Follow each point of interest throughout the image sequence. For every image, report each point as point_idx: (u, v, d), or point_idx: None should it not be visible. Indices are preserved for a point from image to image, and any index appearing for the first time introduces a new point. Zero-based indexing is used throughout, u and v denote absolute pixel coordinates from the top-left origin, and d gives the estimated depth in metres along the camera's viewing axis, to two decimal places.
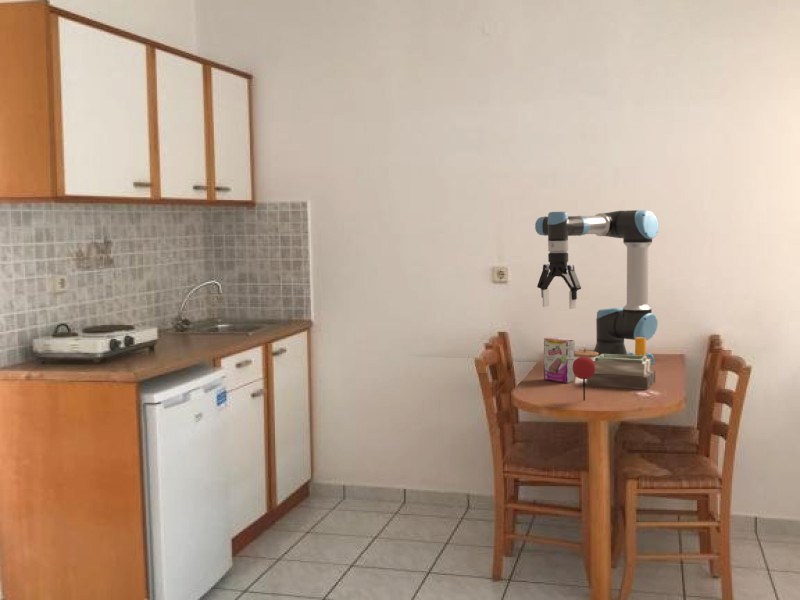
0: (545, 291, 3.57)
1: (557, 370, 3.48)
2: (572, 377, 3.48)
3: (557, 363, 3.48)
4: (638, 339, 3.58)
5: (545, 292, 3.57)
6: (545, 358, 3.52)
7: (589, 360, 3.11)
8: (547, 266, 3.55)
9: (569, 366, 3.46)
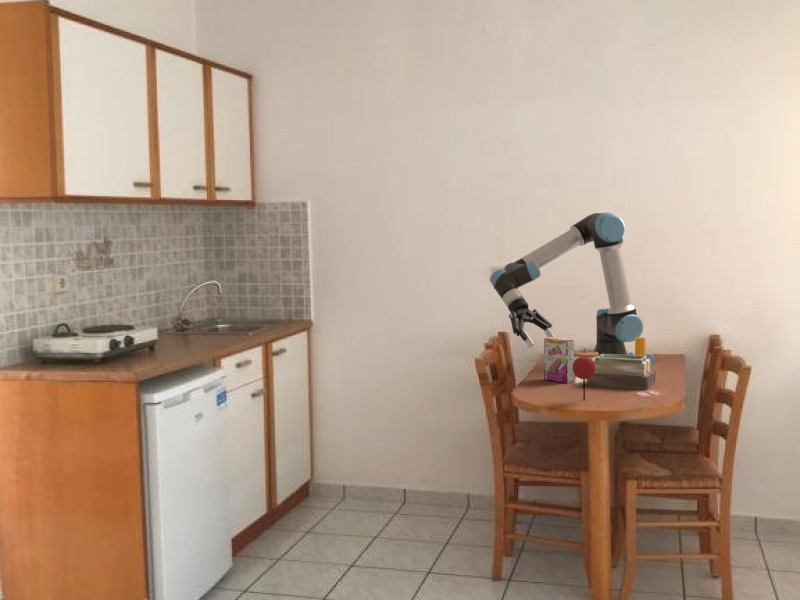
0: (546, 331, 3.62)
1: (557, 370, 3.48)
2: (572, 377, 3.48)
3: (557, 363, 3.48)
4: (638, 339, 3.58)
5: (546, 332, 3.62)
6: (545, 358, 3.52)
7: (589, 360, 3.11)
8: None
9: (569, 366, 3.46)
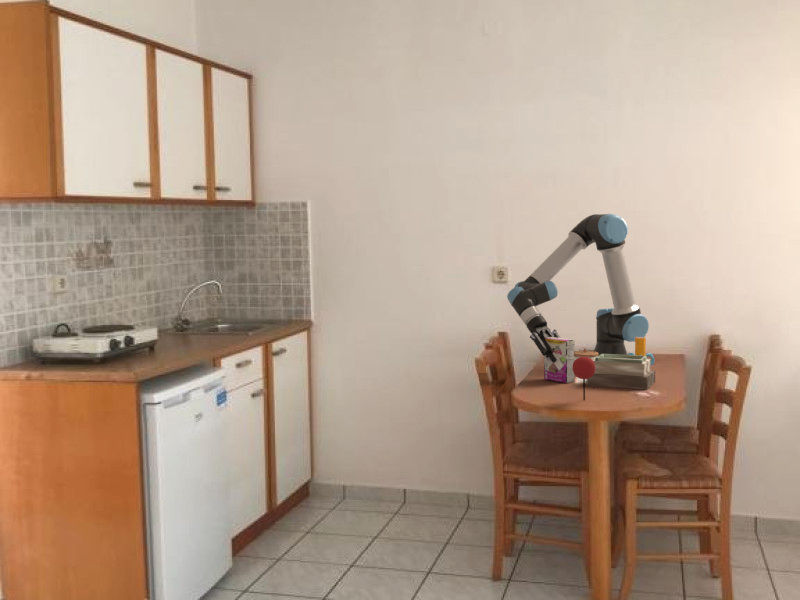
0: None
1: (557, 370, 3.48)
2: (572, 377, 3.48)
3: None
4: (638, 339, 3.58)
5: None
6: (545, 358, 3.52)
7: (589, 360, 3.11)
8: None
9: (568, 366, 3.46)
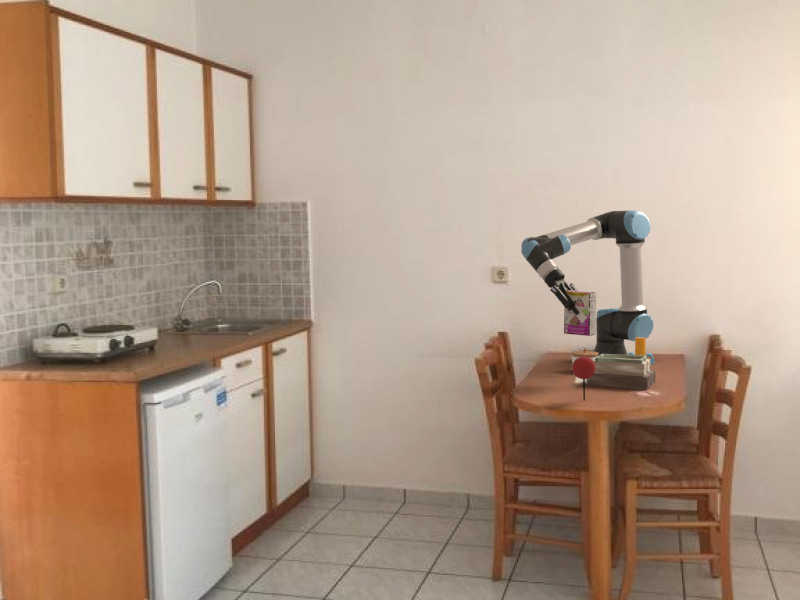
0: None
1: (578, 323, 3.43)
2: (594, 330, 3.43)
3: None
4: (638, 339, 3.58)
5: None
6: (565, 311, 3.46)
7: (589, 360, 3.11)
8: None
9: (591, 318, 3.41)
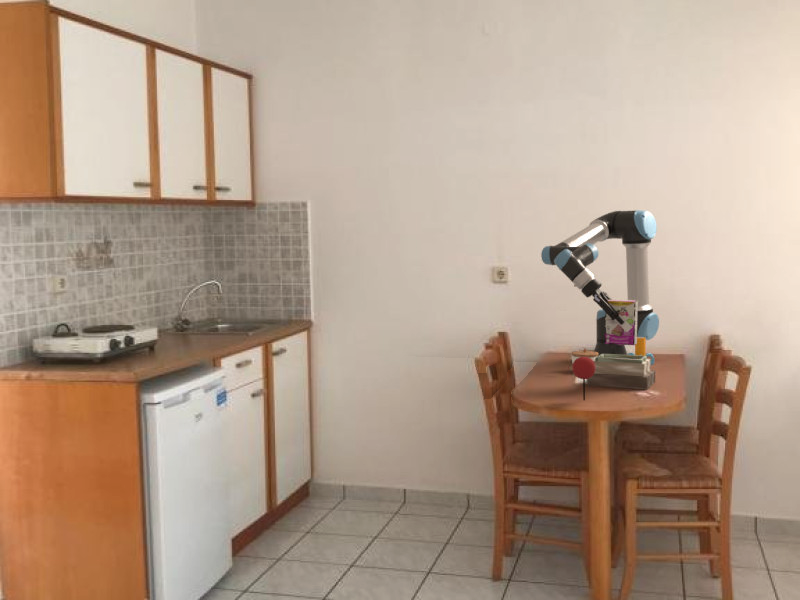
0: None
1: (622, 332, 3.39)
2: (636, 339, 3.40)
3: None
4: (638, 339, 3.58)
5: None
6: (607, 321, 3.41)
7: (589, 360, 3.11)
8: None
9: (635, 328, 3.38)
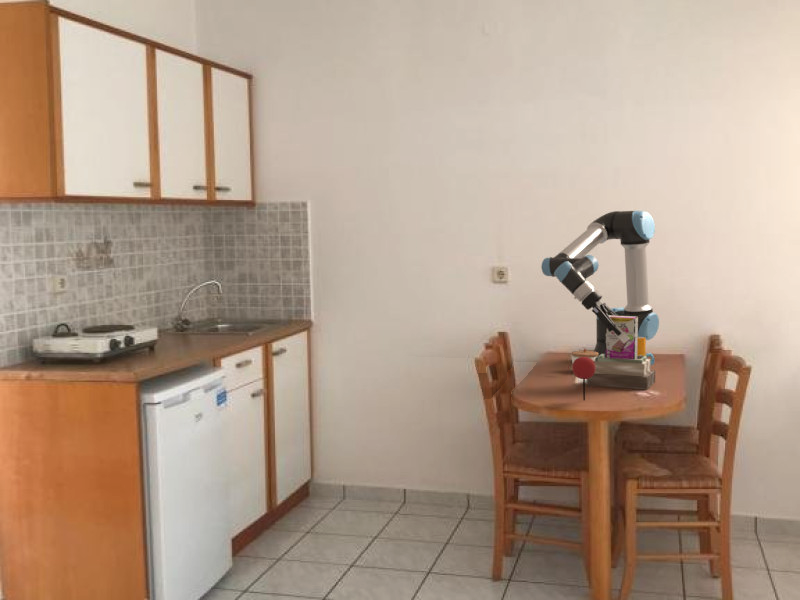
0: None
1: (622, 349, 3.39)
2: (636, 355, 3.41)
3: None
4: (638, 339, 3.58)
5: None
6: (607, 337, 3.42)
7: (589, 360, 3.11)
8: None
9: (635, 344, 3.39)
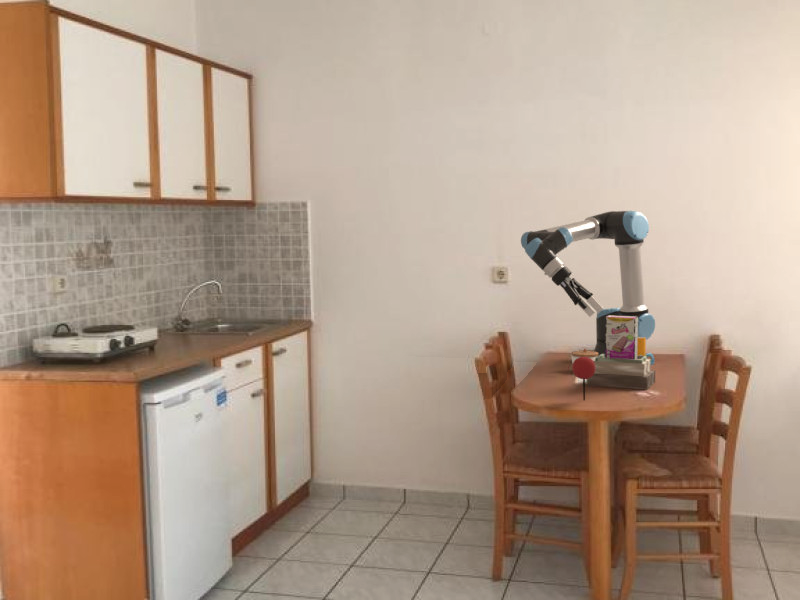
0: (589, 300, 3.52)
1: (622, 349, 3.39)
2: (636, 355, 3.41)
3: (622, 341, 3.39)
4: (638, 339, 3.58)
5: (589, 301, 3.52)
6: (607, 337, 3.42)
7: (589, 360, 3.11)
8: None
9: (635, 344, 3.39)
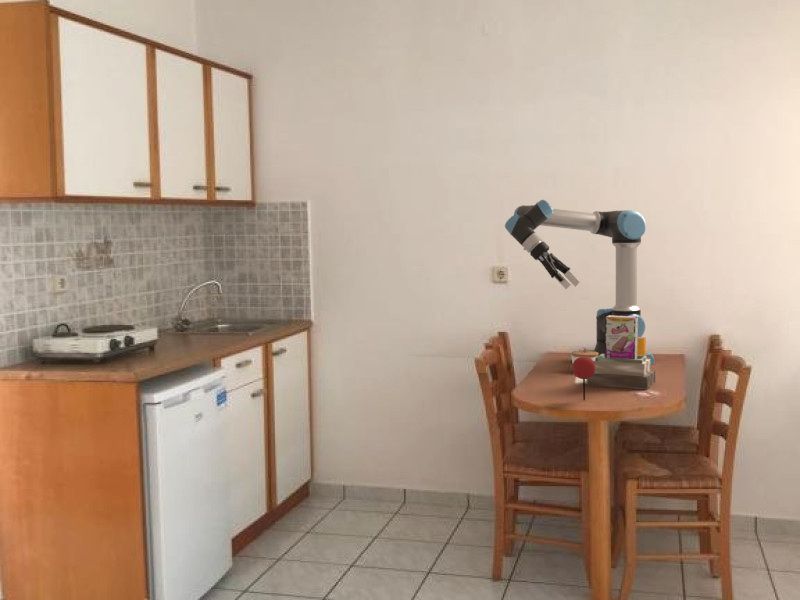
0: (566, 274, 3.67)
1: (622, 349, 3.39)
2: (636, 355, 3.41)
3: (622, 341, 3.39)
4: (638, 339, 3.58)
5: (567, 275, 3.66)
6: (607, 337, 3.42)
7: (589, 360, 3.11)
8: None
9: (635, 344, 3.39)
